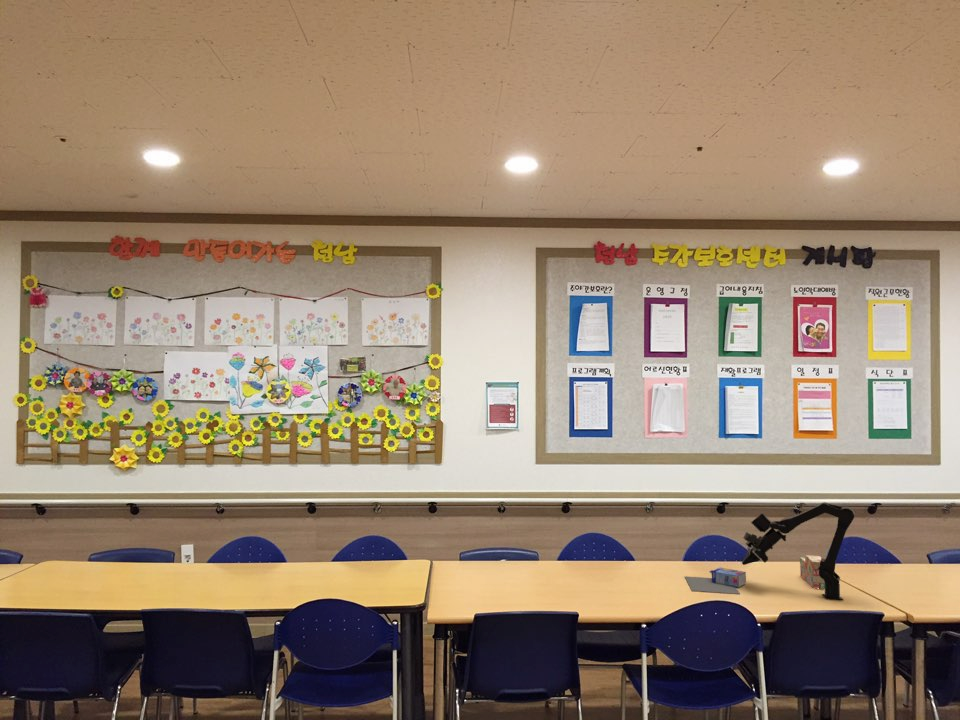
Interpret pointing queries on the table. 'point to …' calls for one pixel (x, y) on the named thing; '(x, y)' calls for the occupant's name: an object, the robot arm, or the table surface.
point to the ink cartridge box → (728, 577)
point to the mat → (709, 586)
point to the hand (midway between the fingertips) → (742, 563)
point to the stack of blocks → (811, 571)
